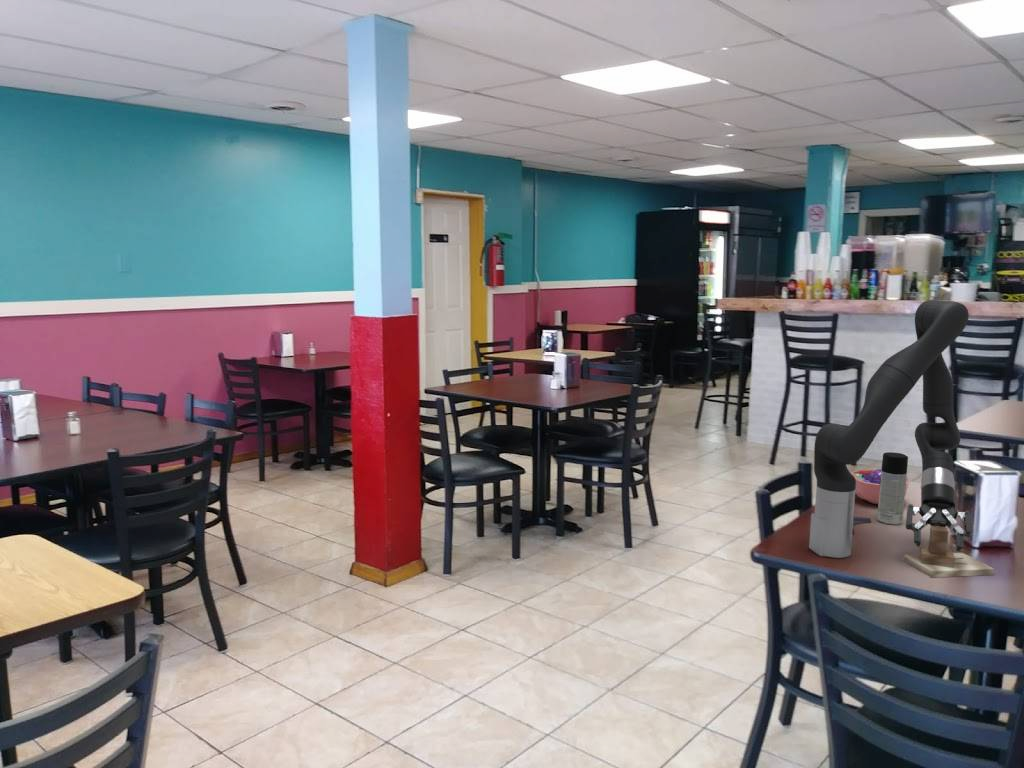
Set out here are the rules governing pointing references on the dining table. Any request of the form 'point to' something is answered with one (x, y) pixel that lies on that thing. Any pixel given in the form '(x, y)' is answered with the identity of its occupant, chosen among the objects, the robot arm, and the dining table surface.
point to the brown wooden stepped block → (937, 549)
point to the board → (962, 567)
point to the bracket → (860, 521)
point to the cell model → (870, 484)
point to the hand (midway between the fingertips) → (938, 547)
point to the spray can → (892, 488)
